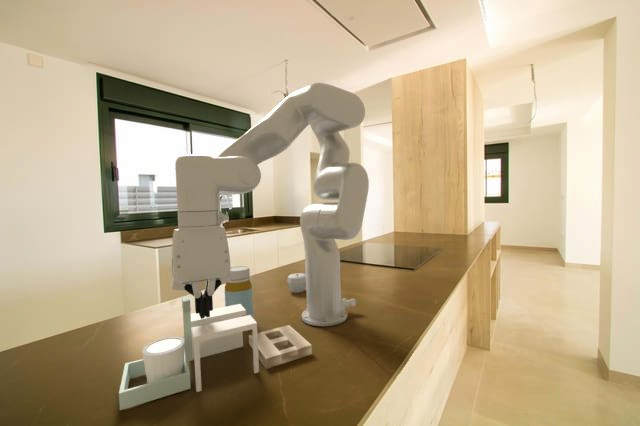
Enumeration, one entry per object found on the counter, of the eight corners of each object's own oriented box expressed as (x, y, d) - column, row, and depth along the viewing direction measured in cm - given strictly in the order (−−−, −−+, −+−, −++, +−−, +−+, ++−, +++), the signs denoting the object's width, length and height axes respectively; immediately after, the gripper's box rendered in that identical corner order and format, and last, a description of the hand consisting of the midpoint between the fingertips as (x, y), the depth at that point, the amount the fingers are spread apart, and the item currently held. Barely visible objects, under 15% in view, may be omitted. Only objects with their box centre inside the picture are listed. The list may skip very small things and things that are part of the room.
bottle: (258, 320, 80) (255, 266, 80) (243, 331, 74) (241, 272, 73) (236, 317, 83) (234, 265, 82) (220, 328, 76) (218, 271, 75)
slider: (190, 360, 60) (187, 291, 59) (196, 386, 51) (192, 306, 50) (125, 377, 54) (121, 302, 54) (119, 410, 46) (114, 321, 45)
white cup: (173, 395, 49) (171, 354, 49) (134, 394, 50) (132, 354, 50) (194, 372, 56) (192, 336, 56) (160, 371, 57) (158, 336, 56)
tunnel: (242, 345, 66) (240, 303, 66) (259, 372, 55) (256, 322, 55) (189, 359, 61) (187, 314, 61) (196, 392, 50) (193, 337, 50)
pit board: (289, 333, 72) (289, 324, 72) (312, 354, 61) (311, 344, 61) (249, 343, 67) (248, 335, 67) (266, 368, 56) (265, 358, 56)
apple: (313, 290, 106) (312, 272, 106) (300, 296, 100) (299, 277, 99) (295, 287, 111) (295, 270, 110) (282, 293, 104) (281, 275, 104)
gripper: (234, 218, 63) (238, 302, 63) (155, 222, 55) (160, 317, 56) (244, 219, 56) (248, 313, 57) (154, 224, 49) (160, 332, 49)
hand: (204, 315), depth 56 cm, fingers closed
